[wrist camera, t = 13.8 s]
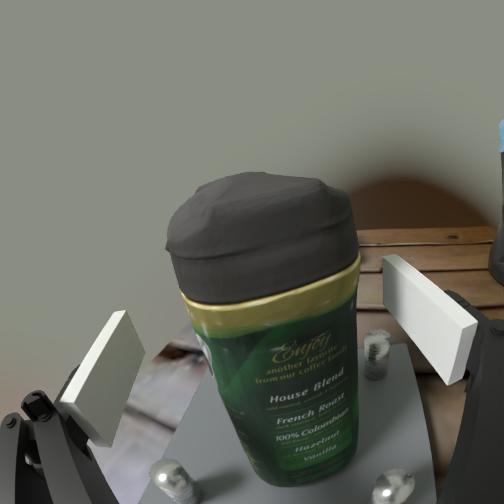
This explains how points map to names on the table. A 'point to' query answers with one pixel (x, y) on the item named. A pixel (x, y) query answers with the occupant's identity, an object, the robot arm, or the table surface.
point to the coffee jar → (276, 316)
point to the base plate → (324, 490)
